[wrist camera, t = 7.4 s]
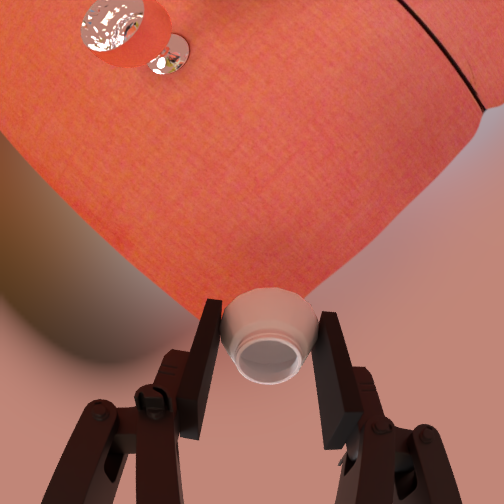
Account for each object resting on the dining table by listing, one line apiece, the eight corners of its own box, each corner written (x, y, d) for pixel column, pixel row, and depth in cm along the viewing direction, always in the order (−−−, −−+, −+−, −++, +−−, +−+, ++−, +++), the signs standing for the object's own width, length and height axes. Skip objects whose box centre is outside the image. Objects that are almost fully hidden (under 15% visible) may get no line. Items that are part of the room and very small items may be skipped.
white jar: (203, 326, 16) (271, 371, 17) (192, 362, 14) (271, 409, 15) (265, 264, 15) (335, 321, 16) (264, 296, 12) (345, 358, 13)
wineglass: (137, 82, 25) (68, 66, 14) (143, 30, 23) (82, -8, 12) (192, 80, 25) (146, 55, 14) (199, 26, 23) (160, -24, 12)
